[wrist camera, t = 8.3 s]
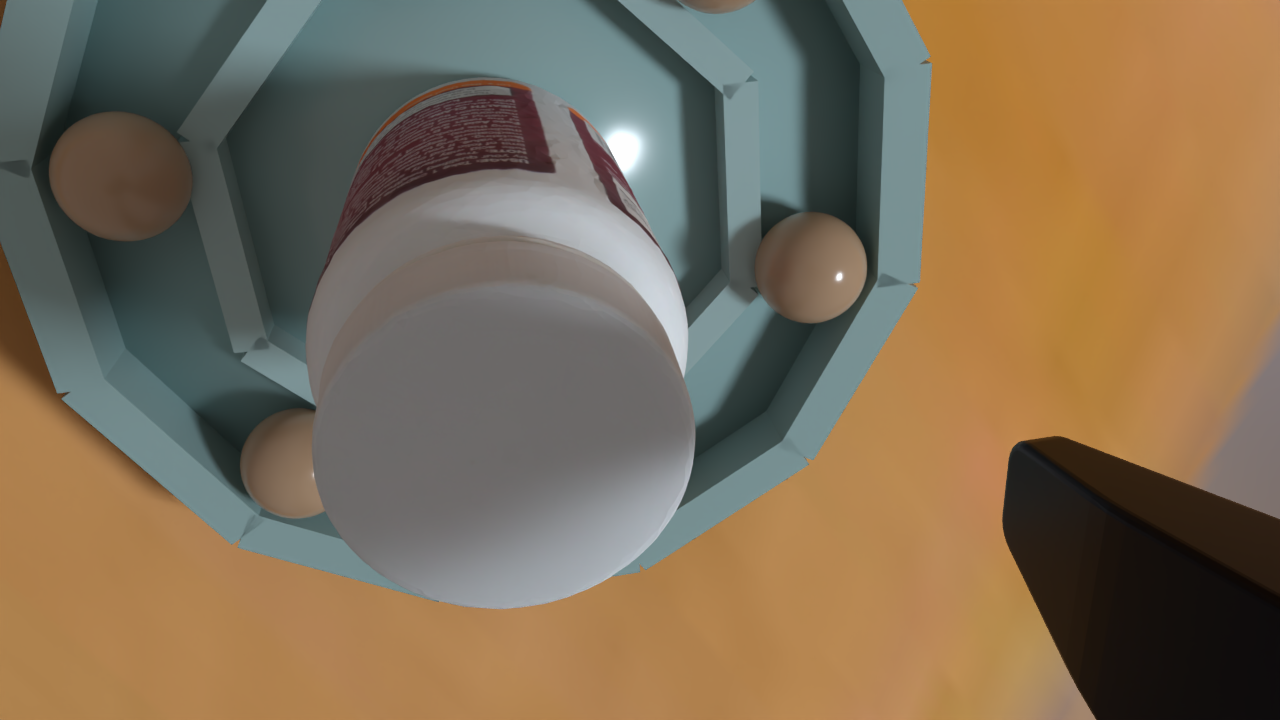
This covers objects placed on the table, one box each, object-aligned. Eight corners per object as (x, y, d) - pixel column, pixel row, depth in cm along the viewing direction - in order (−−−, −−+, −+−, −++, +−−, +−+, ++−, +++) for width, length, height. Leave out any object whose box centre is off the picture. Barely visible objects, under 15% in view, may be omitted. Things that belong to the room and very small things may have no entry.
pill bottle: (316, 283, 18) (212, 583, 11) (405, 26, 16) (353, 171, 9) (564, 366, 20) (623, 680, 12) (668, 137, 18) (810, 339, 11)
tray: (872, 478, 23) (921, 554, 20) (178, 581, 21) (140, 676, 19) (900, -321, 16) (980, -352, 14) (-111, -253, 15) (-230, -274, 12)
